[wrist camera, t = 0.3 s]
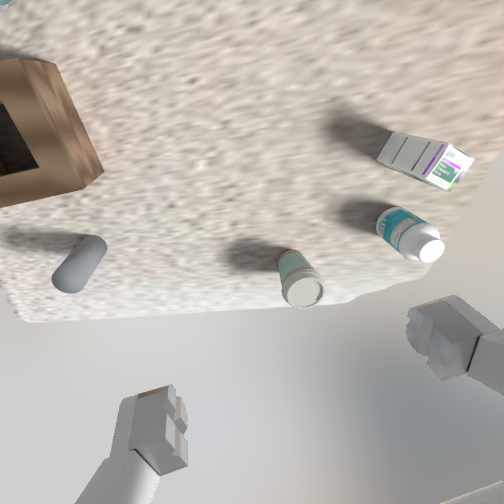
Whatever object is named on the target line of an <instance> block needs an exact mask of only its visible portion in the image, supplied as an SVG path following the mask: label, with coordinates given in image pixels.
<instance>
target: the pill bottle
mask: <svg viewBox="0 0 504 504" xmlns="http://www.w3.org/2000/svg"><path fill="white" fill-rule="evenodd" d="M376 231H377V233H378V235H379V236H380V237H382V238H383V239H384V240H385V241H386V242H387V243H389V244H390V245H391V246H392V247H393V248H395V249H396V250H397V251H398V252H399V253H400V254H402V255H403V256H404V257H405V258H407V259H410V260H421V261H423V262H426V263H429V262H433V261H435V260H436V259H438V258H439V257H440V256H441V255H442V253H443V251H444V243H443V242H442V241H441V240H440V235H439V232H438V230H437V229H436V228H435V227H434V226H432V225H431V224H429V223H427V222H426V221H424V220H422V219H420V218H419V217H417V216H415V215H414V214H412V213H410V212H409V211H407V210H405V209H404V208H401V207H393V208H390V209H387V210H386V211H384V212H383V213H382V214H381V215H380V216H379V218H378V220H377V222H376Z"/></svg>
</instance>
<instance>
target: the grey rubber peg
mask: <svg viewBox="0 0 504 504" xmlns="http://www.w3.org/2000/svg"><path fill="white" fill-rule="evenodd" d="M106 251H107V244H106V242H105V241H104V240H103V239H102V238H100V237H98V236H95V235H88V236H85V237H84V238H83V239H82V240H81V241H80V242H79V244H78V245H77V246H76V247H75V248H74V249H73V251H72V252H71V253H70V254H69V255H68V257H67V258H66V259H65V260H64V261H63V263H62V264H61V265H60V266H59V267H58V269H57V270H56V271H55V272H54V273H53V275H52V283H53V285H54V286H55V287H56V288H57V289H58V290H60V291H62V292H65V293H77V292H80V291H81V290H82V289H83V288H84V286H85V285H86V283H87V282H88V280H89V278H90V277H91V275H92V274H93V272H94V270H95V269H96V267H97V266H98V264H99V262H100V261H101V259H102V258H103V256H104V254H105V253H106Z"/></svg>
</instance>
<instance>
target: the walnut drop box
mask: <svg viewBox="0 0 504 504" xmlns="http://www.w3.org/2000/svg"><path fill="white" fill-rule="evenodd" d="M2 104H4V106H5V108H6V109H7V111H8V113H9V115H10V116H11V118H12V120H13V122H14V123H15V125H16V127H17V129H18V130H19V132H20V134H21V136H22V138H23V139H24V141H25V143H26V145H27V146H28V148H29V150H30V152H31V153H32V155H33V157H34V159H35V160H36V162H37V164H38V166H39V167H36V168H31V169H27V170H22V171H18V172H14V173H9V172H8V171H7V169H6V168H5V166H4V164H3V163H2V161H1V160H0V208H3V207H7V206H11V205H16V204H20V203H25V202H29V201H34V200H38V199H42V198H47V197H51V196H56V195H60V194H64V193H69V192H73V191H78V190H82V189H84V188H85V187H86V186H88V185H89V184H90V183H91V182H93V181H94V180H95V179H96V178H98V177H99V176H100V175H101V174H103V173H104V170H103V168H102V165H101V163H100V161H99V159H98V157H97V154H96V152H95V150H94V148H93V146H92V143H91V141H90V139H89V137H88V135H87V132H86V130H85V128H84V126H83V124H82V121H81V119H80V117H79V115H78V113H77V110H76V108H75V106H74V104H73V102H72V99H71V97H70V95H69V93H68V91H67V88H66V86H65V84H64V82H63V80H62V77H61V75H60V73H59V71H58V69H57V66H56V64H53V63H47V62H41V61H35V60H28V59H22V58H16V57H15V58H11V59H6V60H1V61H0V105H2Z"/></svg>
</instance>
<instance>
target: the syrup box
mask: <svg viewBox="0 0 504 504" xmlns="http://www.w3.org/2000/svg"><path fill="white" fill-rule="evenodd" d="M376 160H377V161H378V162H380V163H382V164H383V165H385V166H387V167H389V168H391V169H393V170H395V171H397V172H400V173H402V174H405V175H407V176H409V177H412V178H414V179H417V180H419V181H422V182H424V183H427V184H429V185H432V186H435V187H437V188H440V189H442V190H444V191H447V192H451V190H452V189H453V188H454V187H455V186H456V184H457V183H458V182H459V181H460V180H461V178H462V177H463V176H464V174H465V173H466V171H467V170H468V168H469V167H470V165H471V164H472V162H473V161H474V160H475V159H474V158H472V157H471V156H469V155H467V154H466V153H465V152H463V151H462V150H460V149H459V148H457V147H455V146H453V145H452V144H450V143H447V142H442V141H437V140H432V139H427V138H422V137H417V136H412V135H407V134H402V133H397V132H393V133H392V135H391V136H390V138H389V139H388V141H387V143H386V144H385V146H384V148H383V149H382V151H381V153H380V154H379V156H378V158H377V159H376Z"/></svg>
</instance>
